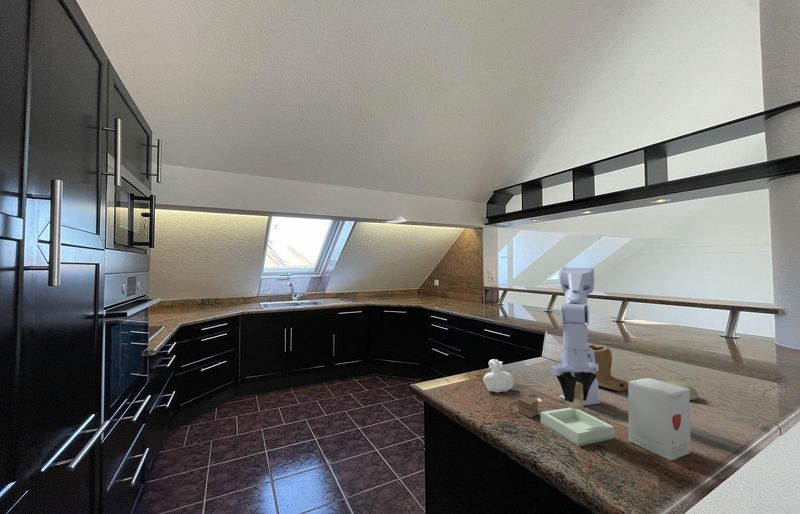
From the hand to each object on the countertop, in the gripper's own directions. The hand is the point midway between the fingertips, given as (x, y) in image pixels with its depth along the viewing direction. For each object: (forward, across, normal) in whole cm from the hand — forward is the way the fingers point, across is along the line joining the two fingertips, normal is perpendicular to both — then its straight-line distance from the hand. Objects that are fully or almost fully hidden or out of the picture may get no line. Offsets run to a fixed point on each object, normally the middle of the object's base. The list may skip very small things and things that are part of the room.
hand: (575, 400), depth 82 cm
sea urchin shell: (+8, +57, +8) cm, 58 cm away
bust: (+8, -2, +31) cm, 32 cm away
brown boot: (+8, +39, +23) cm, 46 cm away
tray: (+8, 0, 0) cm, 8 cm away
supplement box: (+8, +13, -12) cm, 19 cm away
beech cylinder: (+2, 0, 0) cm, 2 cm away
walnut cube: (+8, -5, +12) cm, 15 cm away
